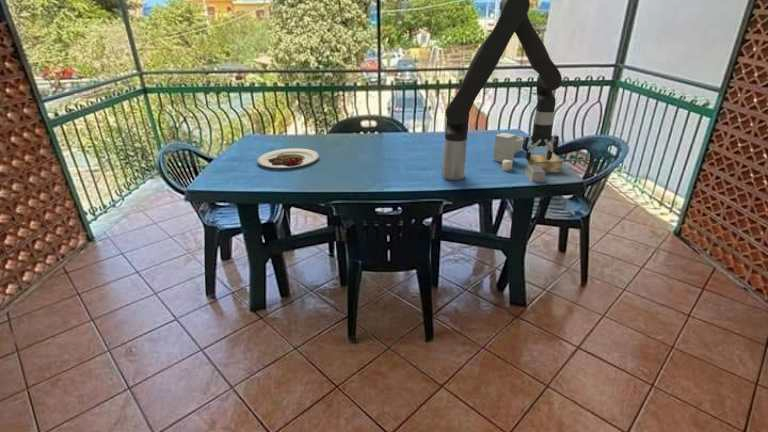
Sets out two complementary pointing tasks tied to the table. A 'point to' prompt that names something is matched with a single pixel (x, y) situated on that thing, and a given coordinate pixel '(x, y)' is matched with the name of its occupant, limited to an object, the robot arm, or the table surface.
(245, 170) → the table surface
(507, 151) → the supplement box
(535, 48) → the robot arm
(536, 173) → the housing
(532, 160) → the stand
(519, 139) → the ramekin
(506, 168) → the beige cube
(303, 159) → the plated food
